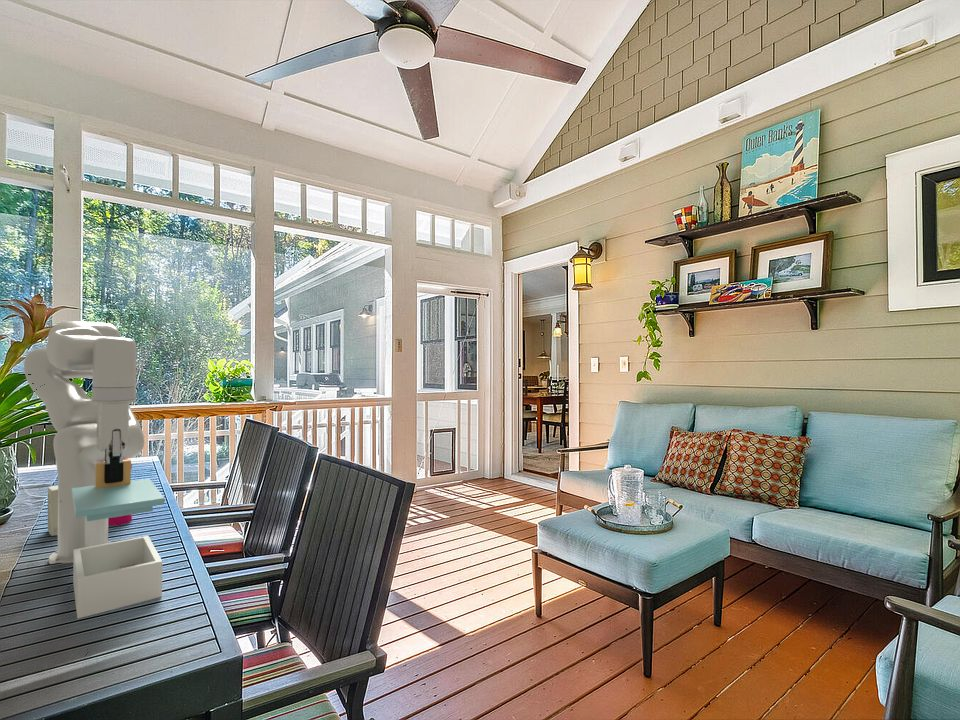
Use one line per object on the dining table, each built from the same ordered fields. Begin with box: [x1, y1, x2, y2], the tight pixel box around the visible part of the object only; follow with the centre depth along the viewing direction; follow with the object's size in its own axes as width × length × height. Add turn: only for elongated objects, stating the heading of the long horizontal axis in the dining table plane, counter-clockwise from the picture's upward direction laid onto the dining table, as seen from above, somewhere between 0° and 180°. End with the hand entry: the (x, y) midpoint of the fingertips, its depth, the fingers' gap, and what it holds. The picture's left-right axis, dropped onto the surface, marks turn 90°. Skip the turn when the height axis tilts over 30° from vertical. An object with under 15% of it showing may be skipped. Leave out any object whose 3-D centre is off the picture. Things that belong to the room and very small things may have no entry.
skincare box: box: [47, 485, 58, 537], centre depth 135 cm, size 6×4×12 cm
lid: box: [72, 458, 165, 522], centre depth 101 cm, size 19×14×8 cm
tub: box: [72, 535, 163, 620], centre depth 101 cm, size 18×13×8 cm
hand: (113, 480), depth 107 cm, fingers closed on lid, 1 cm apart
